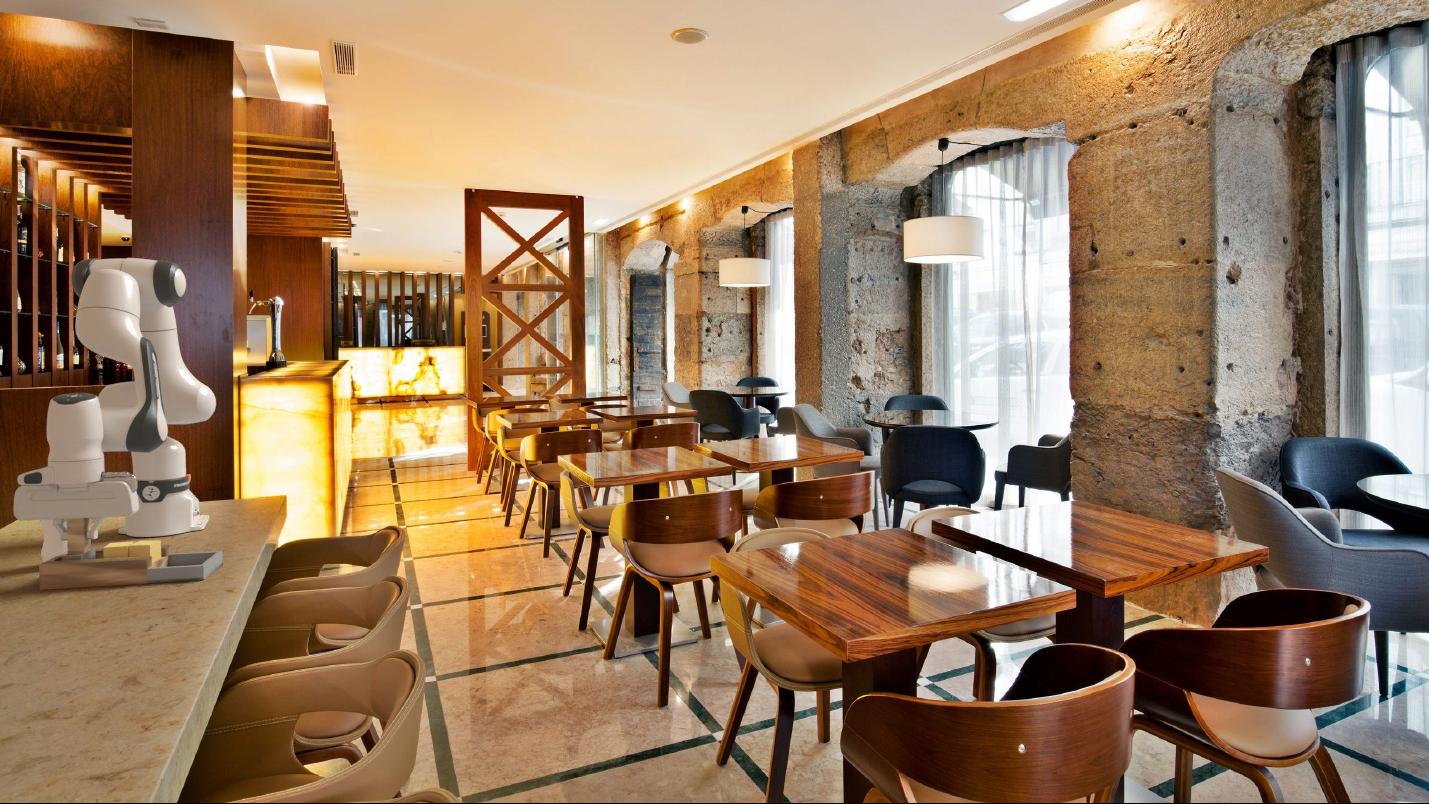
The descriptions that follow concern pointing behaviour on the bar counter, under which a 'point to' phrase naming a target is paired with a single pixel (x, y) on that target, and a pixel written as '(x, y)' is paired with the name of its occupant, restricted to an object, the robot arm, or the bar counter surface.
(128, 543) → the pale yellow block
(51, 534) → the water bottle
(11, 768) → the bar counter surface
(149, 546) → the pale yellow cube
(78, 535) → the wooden post on base
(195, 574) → the tray
